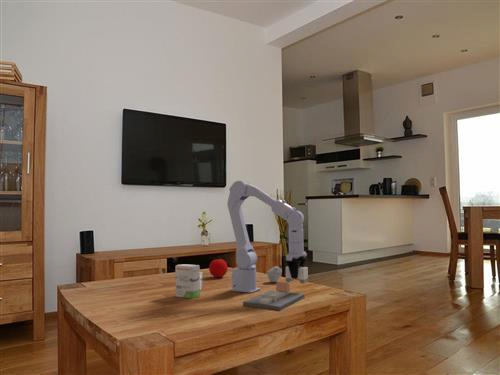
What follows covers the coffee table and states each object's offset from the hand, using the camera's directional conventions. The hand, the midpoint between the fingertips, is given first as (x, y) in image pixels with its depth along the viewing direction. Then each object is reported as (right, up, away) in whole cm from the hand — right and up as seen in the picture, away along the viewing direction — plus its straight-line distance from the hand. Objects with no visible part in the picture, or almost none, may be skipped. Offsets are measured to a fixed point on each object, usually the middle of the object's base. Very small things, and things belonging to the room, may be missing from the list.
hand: (296, 277), depth 142 cm
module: (0, -2, 0) cm, 2 cm away
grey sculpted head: (-7, -8, +23) cm, 25 cm away
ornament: (-33, -9, +37) cm, 51 cm away
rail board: (-9, -5, -12) cm, 16 cm away
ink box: (-42, -7, -2) cm, 42 cm away
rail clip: (-6, -3, -7) cm, 9 cm away
